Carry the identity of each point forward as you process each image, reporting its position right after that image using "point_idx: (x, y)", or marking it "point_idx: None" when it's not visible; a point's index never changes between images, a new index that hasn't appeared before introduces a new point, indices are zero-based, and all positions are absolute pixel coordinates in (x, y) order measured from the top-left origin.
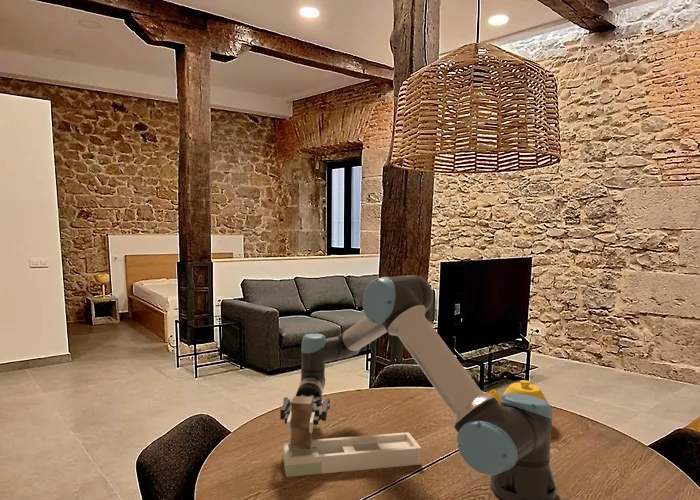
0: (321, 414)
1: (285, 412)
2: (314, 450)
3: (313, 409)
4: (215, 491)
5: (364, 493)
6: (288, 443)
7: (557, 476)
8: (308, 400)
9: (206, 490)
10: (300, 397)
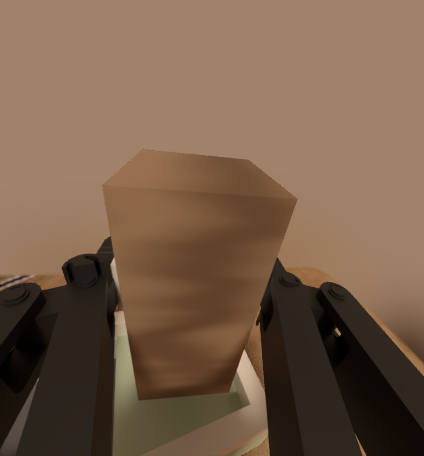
0: (58, 287)
1: (305, 292)
2: (129, 419)
3: (102, 348)
4: (306, 272)
5: (45, 277)
6: (249, 406)
7: None
8: (155, 162)
9: (320, 274)
10: (229, 184)
